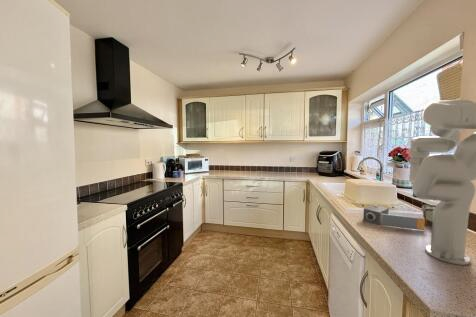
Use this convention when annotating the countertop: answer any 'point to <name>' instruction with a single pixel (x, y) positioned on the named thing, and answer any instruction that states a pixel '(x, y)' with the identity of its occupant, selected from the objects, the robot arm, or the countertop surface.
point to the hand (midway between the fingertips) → (417, 197)
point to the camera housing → (374, 213)
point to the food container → (428, 214)
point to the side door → (402, 221)
